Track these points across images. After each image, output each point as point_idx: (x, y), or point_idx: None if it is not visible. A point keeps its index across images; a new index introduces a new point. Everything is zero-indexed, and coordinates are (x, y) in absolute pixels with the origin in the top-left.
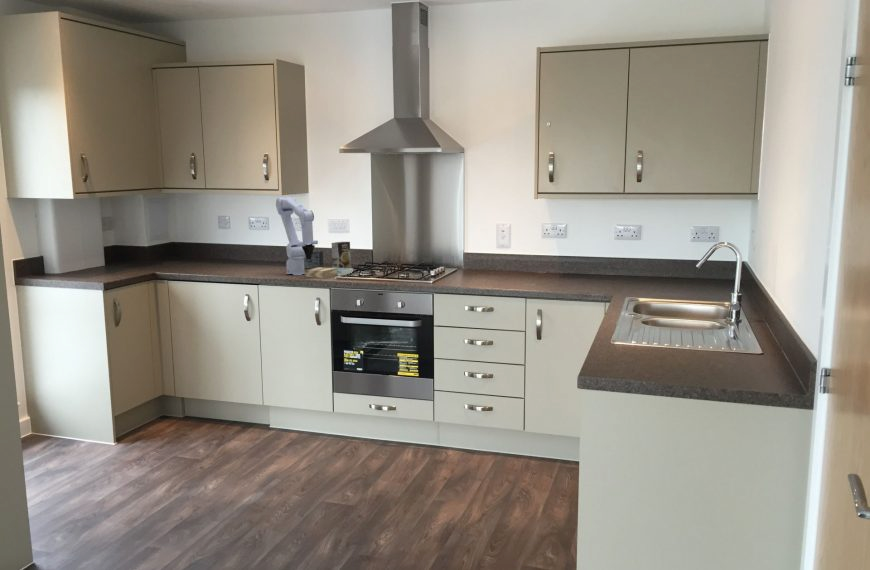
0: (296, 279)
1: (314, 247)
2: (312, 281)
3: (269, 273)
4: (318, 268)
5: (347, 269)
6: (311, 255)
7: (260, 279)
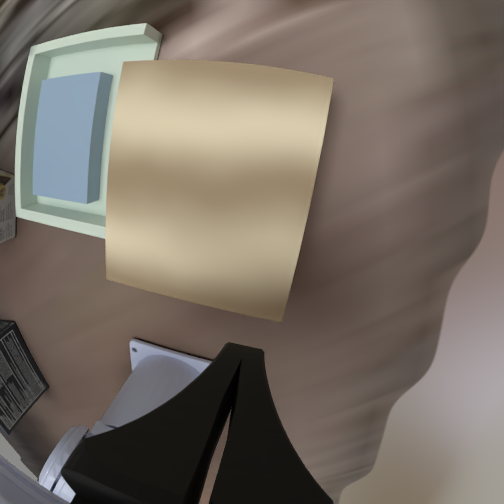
0: (384, 314)
1: (97, 435)
2: (470, 148)
3: None
4: (162, 244)
5: (32, 89)
6: (218, 367)
7: (361, 460)
